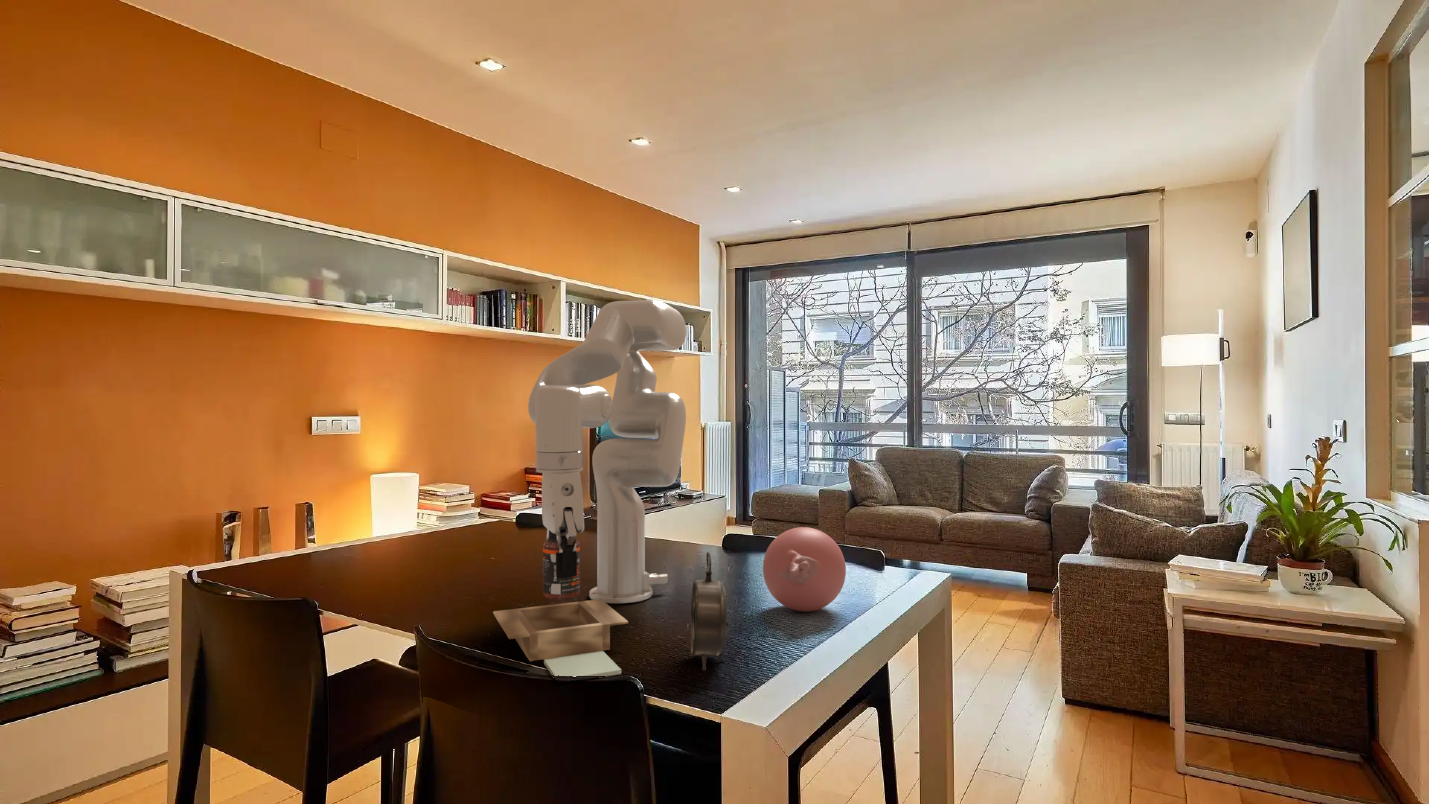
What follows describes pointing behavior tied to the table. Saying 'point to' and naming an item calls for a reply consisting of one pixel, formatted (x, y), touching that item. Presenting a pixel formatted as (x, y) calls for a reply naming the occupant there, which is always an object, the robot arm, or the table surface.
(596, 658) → the coaster
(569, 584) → the supplement bottle
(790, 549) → the salmon rubber sphere
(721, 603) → the alarm clock
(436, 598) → the table surface
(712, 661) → the table surface
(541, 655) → the carton
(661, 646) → the table surface
